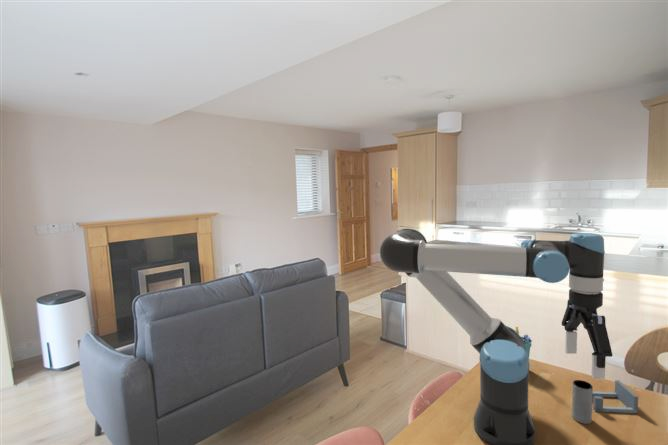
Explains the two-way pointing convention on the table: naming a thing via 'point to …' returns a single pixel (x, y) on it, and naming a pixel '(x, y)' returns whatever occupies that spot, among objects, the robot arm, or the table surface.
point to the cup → (526, 342)
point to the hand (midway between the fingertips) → (583, 364)
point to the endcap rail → (622, 394)
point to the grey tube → (582, 401)
